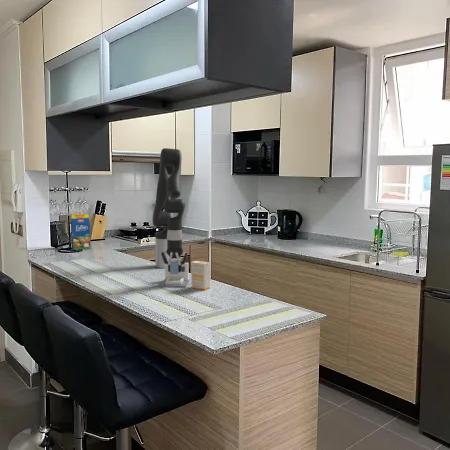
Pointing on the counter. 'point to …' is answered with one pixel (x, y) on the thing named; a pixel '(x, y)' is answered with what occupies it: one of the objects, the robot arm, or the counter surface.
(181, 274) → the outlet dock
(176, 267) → the block
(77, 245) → the blue food package
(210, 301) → the counter surface
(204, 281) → the supplement box
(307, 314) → the counter surface
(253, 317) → the counter surface
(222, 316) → the counter surface
